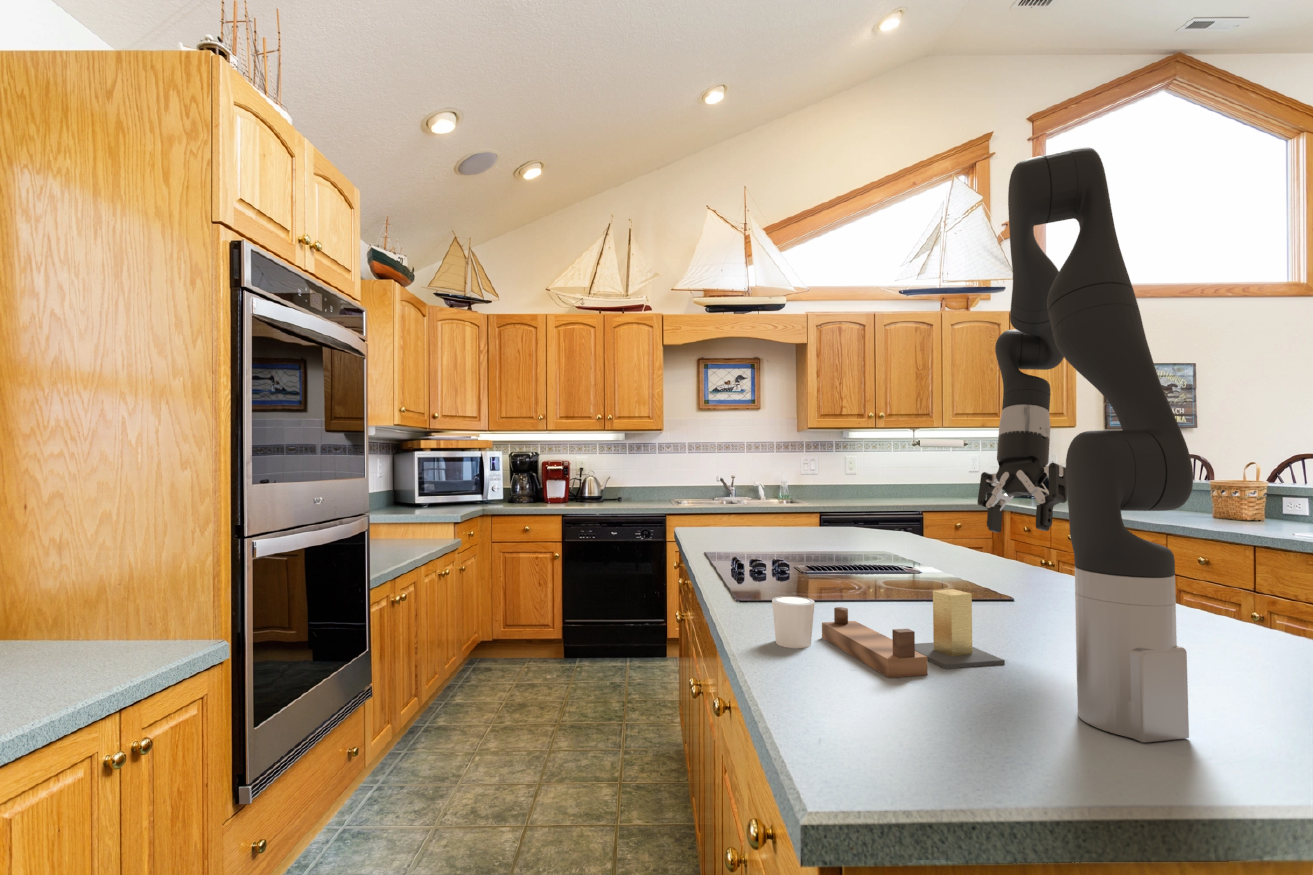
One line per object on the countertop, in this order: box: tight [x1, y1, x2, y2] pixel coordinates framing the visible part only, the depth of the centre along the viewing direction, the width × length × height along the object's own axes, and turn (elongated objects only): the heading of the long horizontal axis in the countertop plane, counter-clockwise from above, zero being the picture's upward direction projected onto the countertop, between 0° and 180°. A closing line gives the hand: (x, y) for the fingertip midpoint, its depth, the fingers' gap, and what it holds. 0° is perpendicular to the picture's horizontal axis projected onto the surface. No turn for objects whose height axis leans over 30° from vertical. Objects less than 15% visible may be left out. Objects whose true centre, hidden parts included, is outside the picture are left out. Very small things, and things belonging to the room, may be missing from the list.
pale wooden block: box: [932, 588, 973, 657], centre depth 97 cm, size 4×4×9 cm
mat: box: [915, 641, 1006, 669], centre depth 96 cm, size 10×10×1 cm
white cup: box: [771, 595, 816, 649], centre depth 103 cm, size 7×7×7 cm
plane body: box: [821, 606, 929, 679], centre depth 97 cm, size 20×6×6 cm, turn 11°
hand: (1017, 530), depth 102 cm, fingers open, 8 cm apart
